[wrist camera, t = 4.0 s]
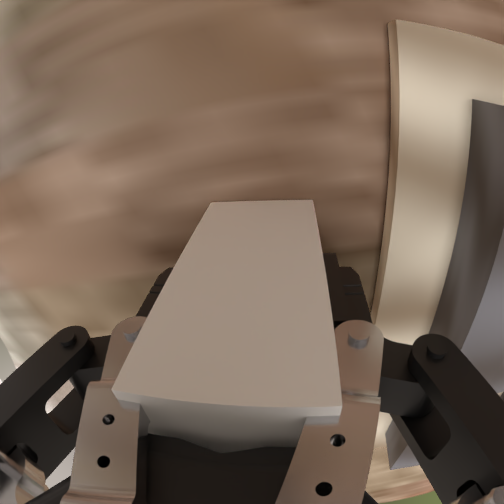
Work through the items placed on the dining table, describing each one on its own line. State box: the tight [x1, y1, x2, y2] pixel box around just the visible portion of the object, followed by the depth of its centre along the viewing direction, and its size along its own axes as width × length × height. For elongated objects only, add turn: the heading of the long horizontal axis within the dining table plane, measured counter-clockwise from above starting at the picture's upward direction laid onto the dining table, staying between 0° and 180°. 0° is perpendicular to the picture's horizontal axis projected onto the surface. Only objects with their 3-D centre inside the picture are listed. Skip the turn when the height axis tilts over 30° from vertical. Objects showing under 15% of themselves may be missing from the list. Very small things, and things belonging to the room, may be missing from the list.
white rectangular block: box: [111, 200, 342, 453], centre depth 10 cm, size 4×4×9 cm
